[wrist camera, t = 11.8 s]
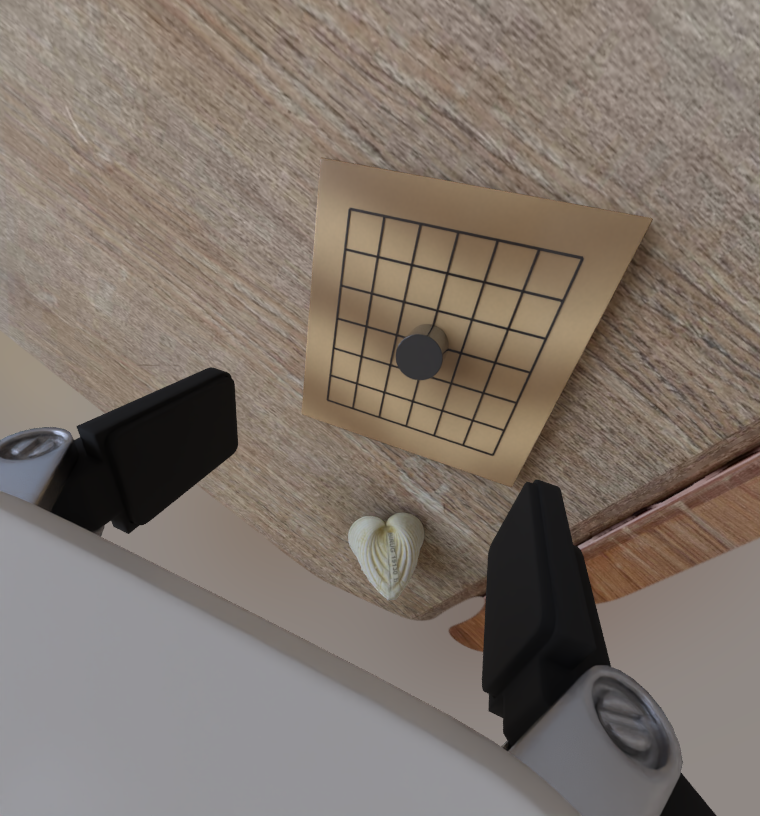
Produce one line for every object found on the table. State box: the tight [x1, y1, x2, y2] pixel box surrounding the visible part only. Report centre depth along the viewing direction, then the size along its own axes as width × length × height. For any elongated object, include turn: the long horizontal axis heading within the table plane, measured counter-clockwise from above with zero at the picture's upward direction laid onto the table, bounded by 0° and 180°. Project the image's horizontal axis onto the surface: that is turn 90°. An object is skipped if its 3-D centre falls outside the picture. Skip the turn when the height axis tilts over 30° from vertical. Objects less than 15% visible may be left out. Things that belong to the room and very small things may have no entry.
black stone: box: [396, 324, 449, 380], centre depth 23 cm, size 3×3×3 cm
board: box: [302, 158, 653, 487], centre depth 25 cm, size 20×20×2 cm
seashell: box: [348, 513, 424, 600], centre depth 34 cm, size 8×8×8 cm
